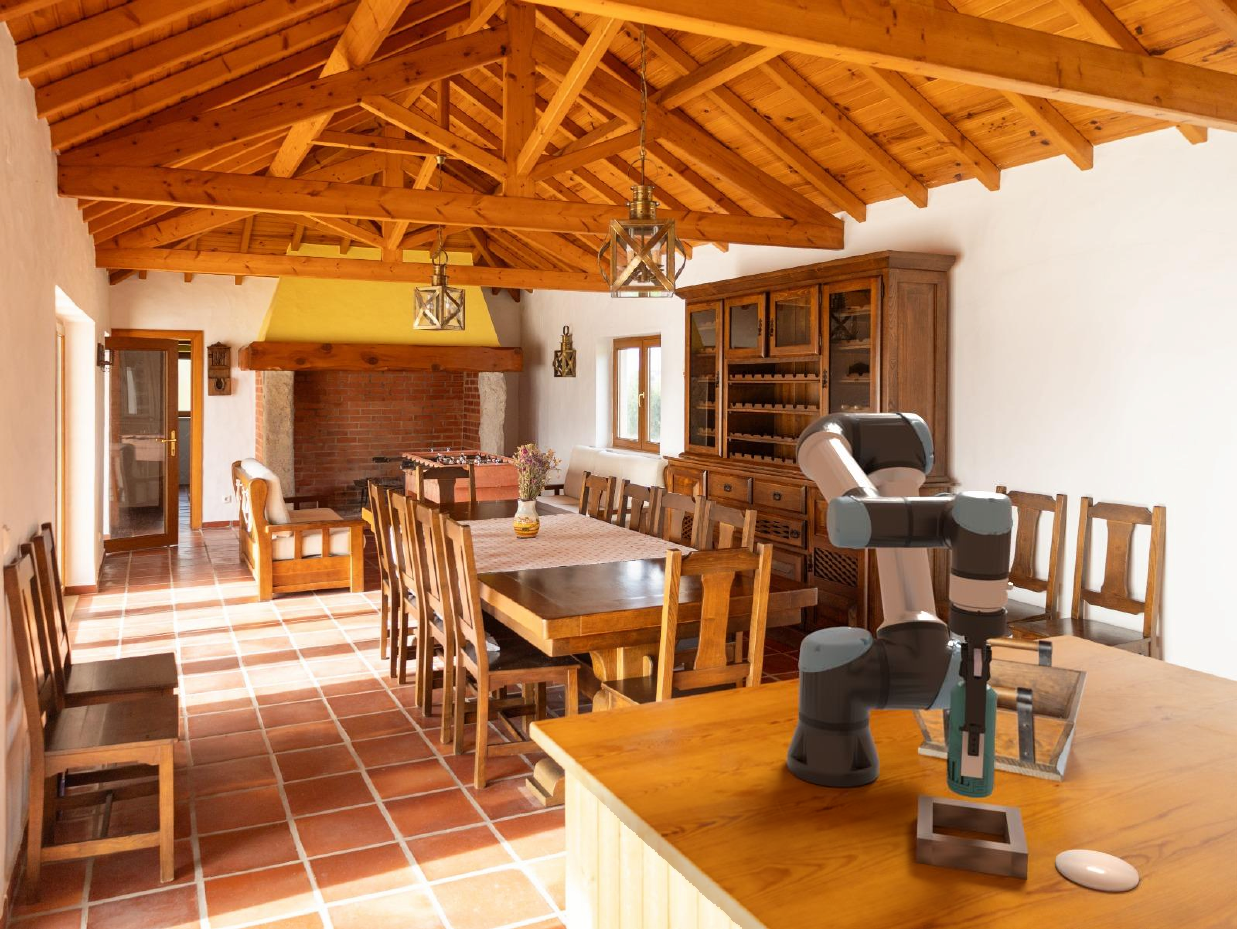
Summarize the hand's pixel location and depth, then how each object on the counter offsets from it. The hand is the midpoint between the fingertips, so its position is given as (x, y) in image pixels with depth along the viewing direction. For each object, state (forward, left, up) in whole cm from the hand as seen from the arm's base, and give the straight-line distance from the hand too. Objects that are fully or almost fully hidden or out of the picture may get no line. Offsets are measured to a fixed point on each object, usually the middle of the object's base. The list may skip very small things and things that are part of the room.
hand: (970, 764), depth 136 cm
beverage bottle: (0, 0, -5) cm, 5 cm away
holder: (0, -1, -12) cm, 12 cm away
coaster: (+16, -3, -12) cm, 20 cm away
